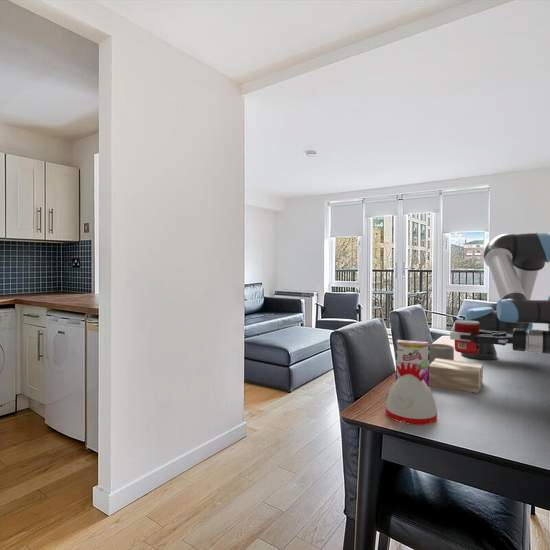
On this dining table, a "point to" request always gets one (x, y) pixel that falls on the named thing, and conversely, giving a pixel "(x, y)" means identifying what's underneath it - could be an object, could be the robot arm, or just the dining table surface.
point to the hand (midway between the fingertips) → (452, 333)
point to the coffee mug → (441, 352)
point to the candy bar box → (413, 357)
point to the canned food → (467, 327)
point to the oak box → (456, 375)
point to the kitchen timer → (411, 398)
